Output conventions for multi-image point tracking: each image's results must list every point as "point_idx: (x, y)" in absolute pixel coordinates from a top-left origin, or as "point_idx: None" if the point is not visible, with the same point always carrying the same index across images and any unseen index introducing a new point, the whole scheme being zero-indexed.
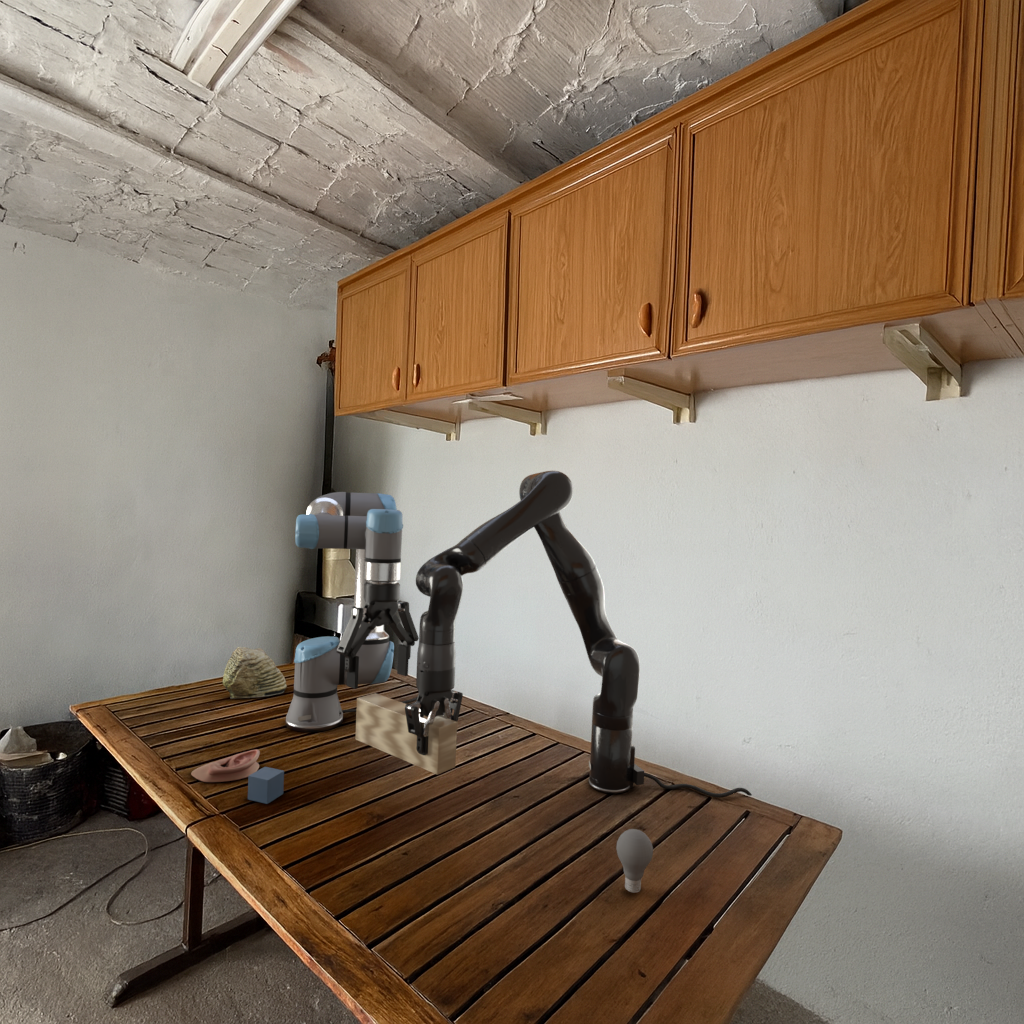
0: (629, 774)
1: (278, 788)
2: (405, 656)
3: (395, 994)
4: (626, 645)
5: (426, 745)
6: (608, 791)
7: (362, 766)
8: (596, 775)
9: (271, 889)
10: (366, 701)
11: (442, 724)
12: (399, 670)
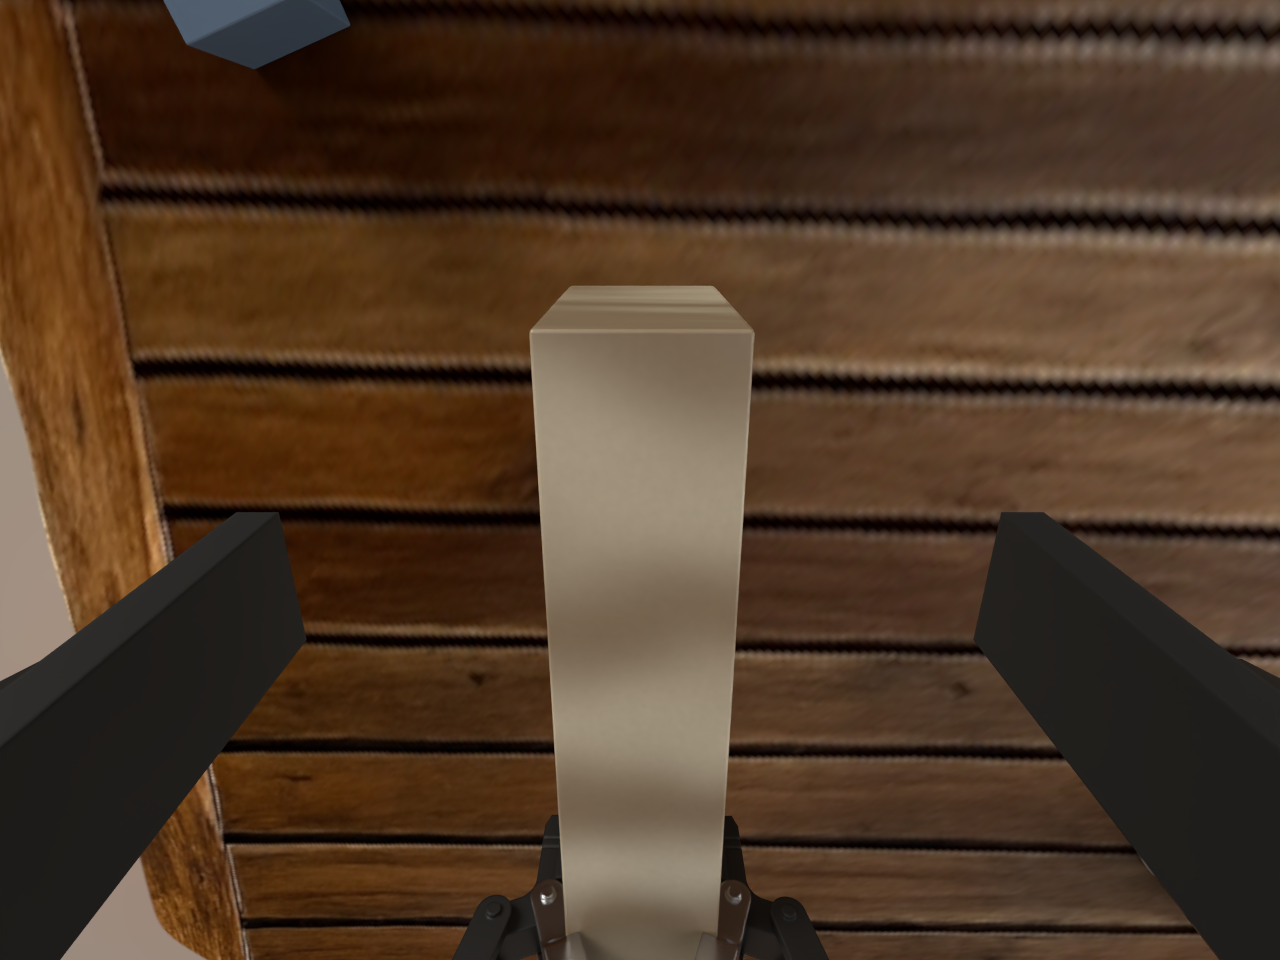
0: None
1: (298, 31)
2: (1127, 817)
3: (211, 928)
4: None
5: None
6: (1139, 857)
7: (802, 45)
8: None
9: (105, 571)
10: (539, 464)
11: None
12: (1016, 574)
